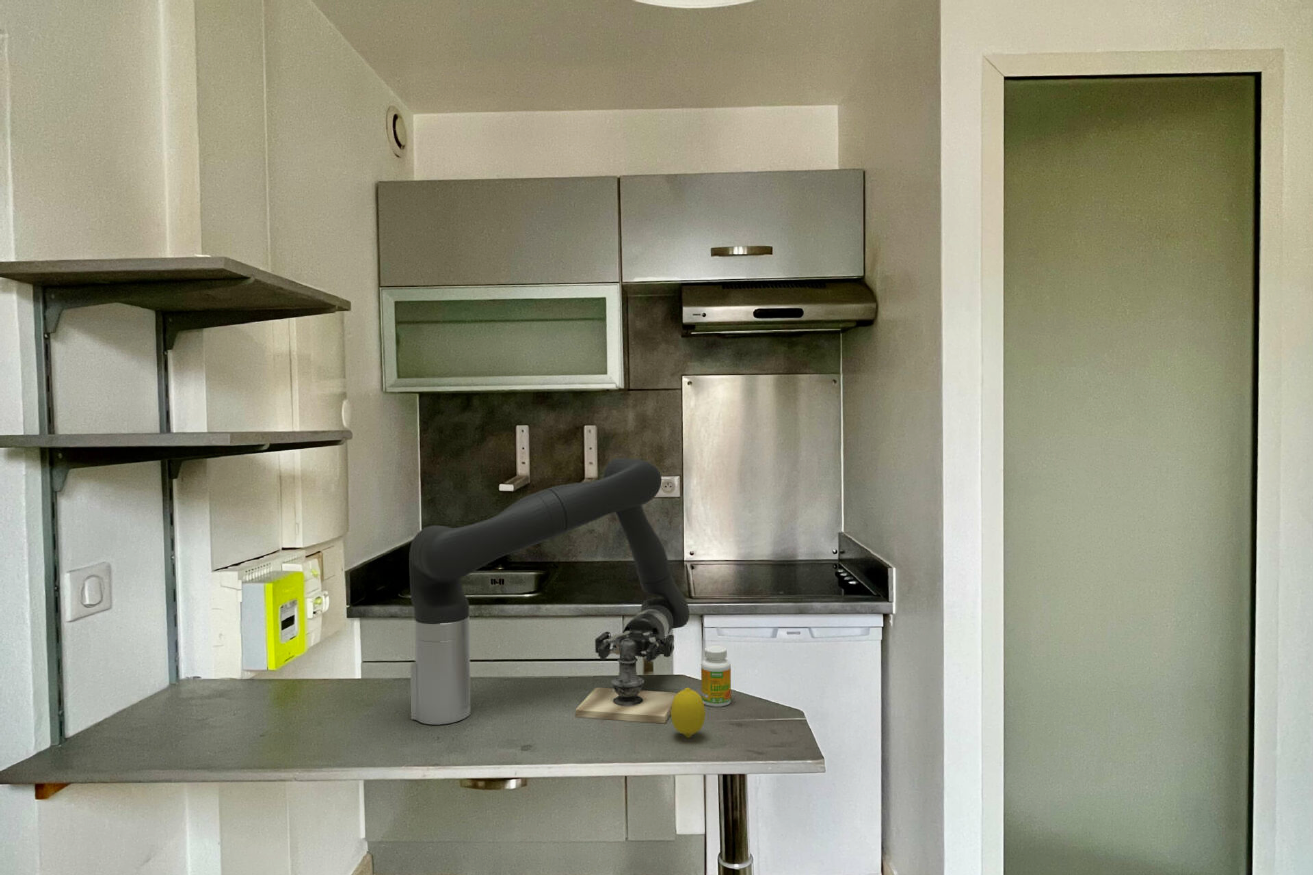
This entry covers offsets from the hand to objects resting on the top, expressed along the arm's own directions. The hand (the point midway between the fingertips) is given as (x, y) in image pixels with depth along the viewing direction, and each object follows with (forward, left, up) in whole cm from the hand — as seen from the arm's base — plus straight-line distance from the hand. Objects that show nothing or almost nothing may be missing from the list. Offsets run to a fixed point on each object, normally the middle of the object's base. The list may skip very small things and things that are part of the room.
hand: (624, 655), depth 135 cm
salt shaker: (0, +2, -9) cm, 9 cm away
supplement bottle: (+15, +8, -10) cm, 20 cm away
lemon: (+13, -9, -10) cm, 19 cm away
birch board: (0, +2, -10) cm, 10 cm away
